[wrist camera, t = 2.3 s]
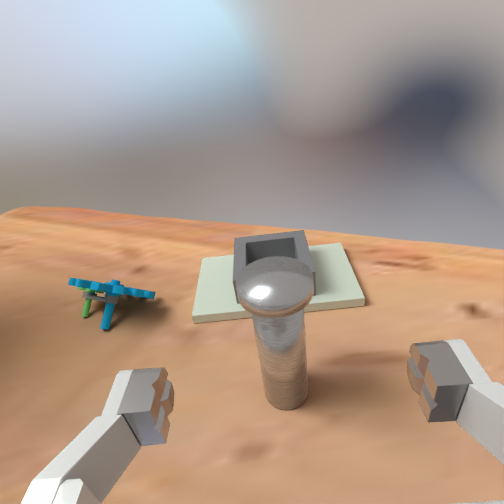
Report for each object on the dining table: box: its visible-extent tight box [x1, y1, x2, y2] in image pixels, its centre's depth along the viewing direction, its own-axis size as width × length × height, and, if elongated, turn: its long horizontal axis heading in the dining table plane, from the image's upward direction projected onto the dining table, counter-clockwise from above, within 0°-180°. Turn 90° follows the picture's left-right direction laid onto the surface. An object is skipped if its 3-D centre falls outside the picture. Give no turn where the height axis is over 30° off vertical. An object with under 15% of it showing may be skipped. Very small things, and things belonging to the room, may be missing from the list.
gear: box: [68, 278, 155, 329], centre depth 43 cm, size 11×6×10 cm
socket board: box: [192, 230, 365, 323], centre depth 44 cm, size 20×12×5 cm, turn 91°
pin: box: [236, 256, 314, 410], centre depth 29 cm, size 6×6×13 cm
